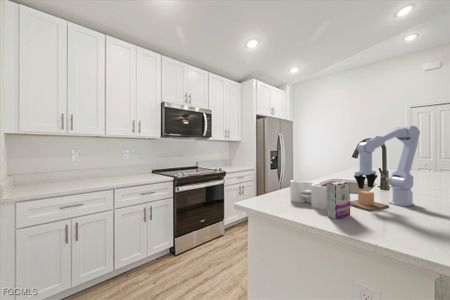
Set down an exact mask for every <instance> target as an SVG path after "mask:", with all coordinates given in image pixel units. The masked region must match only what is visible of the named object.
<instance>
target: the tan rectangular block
mask: <svg viewBox="0 0 450 300" xmlns="http://www.w3.org/2000/svg"><path fill="white" fill-rule="evenodd" d="M357 198H358V199H357V200H358V203H359V204H363V205H367V206H369V205H374V202H375V192H371V191H368V190H361V191H357Z"/></svg>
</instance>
